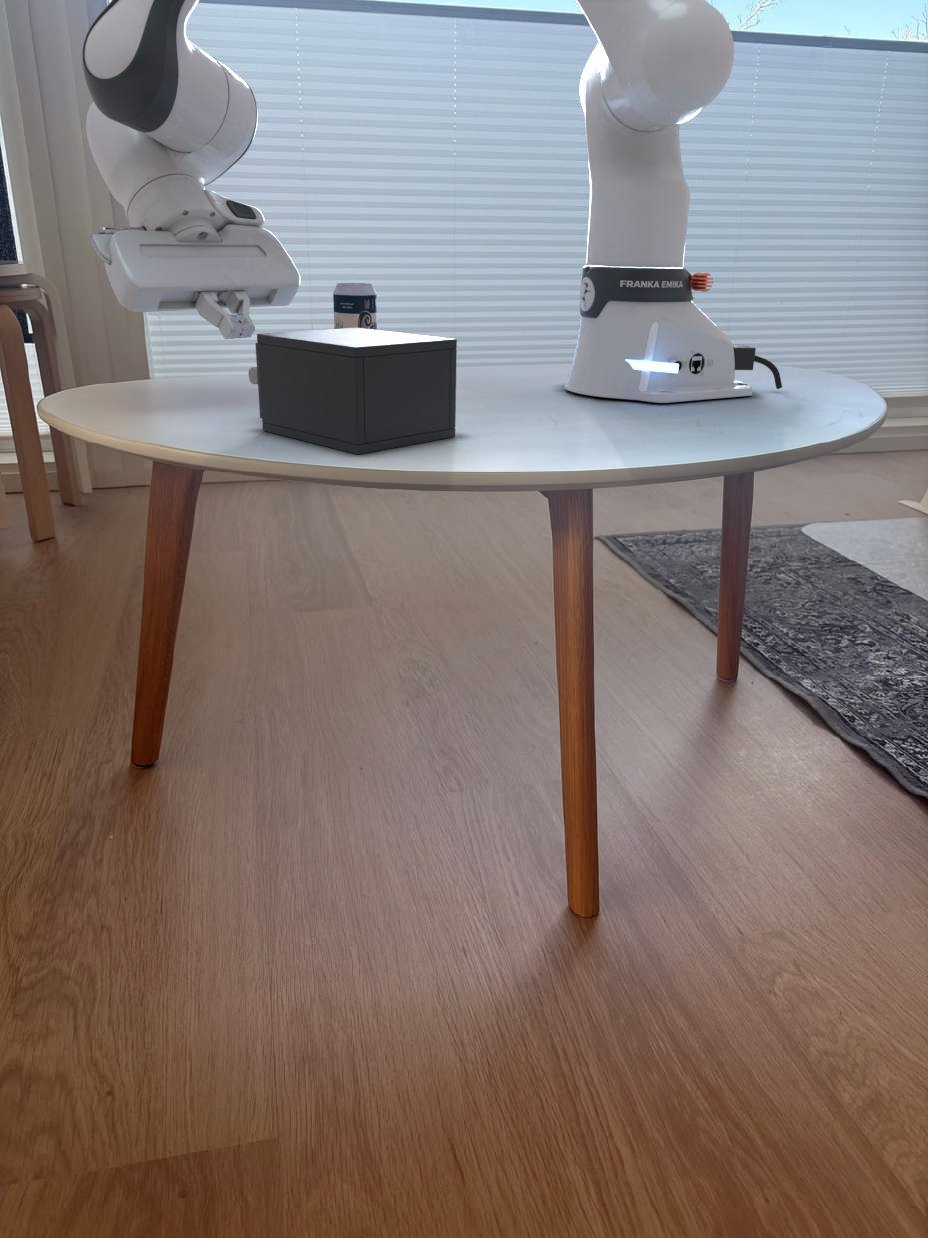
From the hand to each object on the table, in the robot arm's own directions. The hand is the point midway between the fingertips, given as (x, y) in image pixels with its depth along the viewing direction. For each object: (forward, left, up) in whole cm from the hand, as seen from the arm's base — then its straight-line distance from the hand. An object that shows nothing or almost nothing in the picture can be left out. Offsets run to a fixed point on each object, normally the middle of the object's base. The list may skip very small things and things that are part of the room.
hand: (241, 334), depth 94 cm
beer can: (-13, -6, -8) cm, 16 cm away
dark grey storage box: (-8, +16, -7) cm, 20 cm away
